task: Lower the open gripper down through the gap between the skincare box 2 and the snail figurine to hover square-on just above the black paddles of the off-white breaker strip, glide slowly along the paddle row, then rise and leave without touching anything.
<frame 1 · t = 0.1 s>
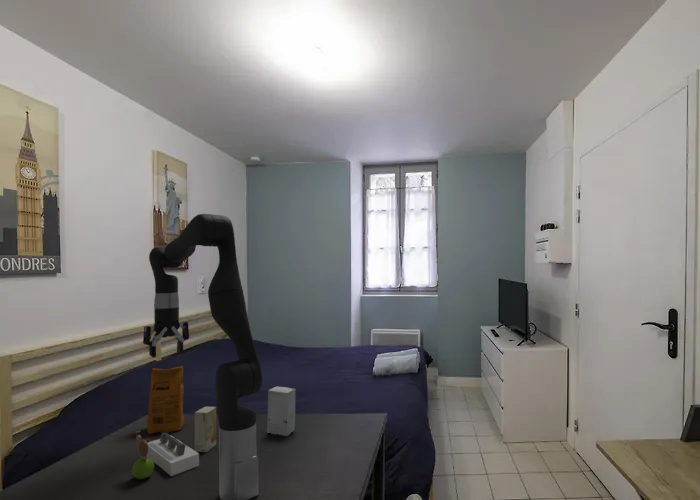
hand: (166, 355, 135), 29 cm above the table, tool pointing down, fingers open, 8 cm apart
breaker paddles: (172, 442, 122), point 5 cm above the table, hinge at 12.0°
coffee package: (166, 429, 147), on the table
skincare box: (281, 432, 141), on the table
snail figurine: (142, 478, 112), on the table
skincare box 2: (205, 448, 130), on the table
breaker strip: (171, 460, 122), on the table
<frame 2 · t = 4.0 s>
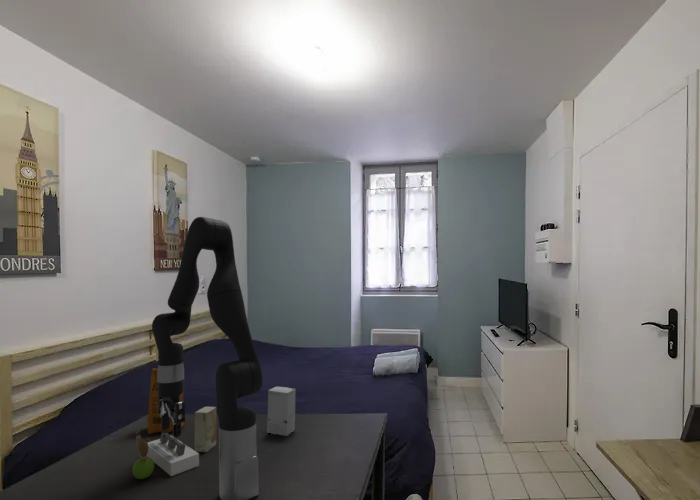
hand: (171, 432, 122), 8 cm above the table, tool pointing down, fingers open, 8 cm apart
nothing on the table moved.
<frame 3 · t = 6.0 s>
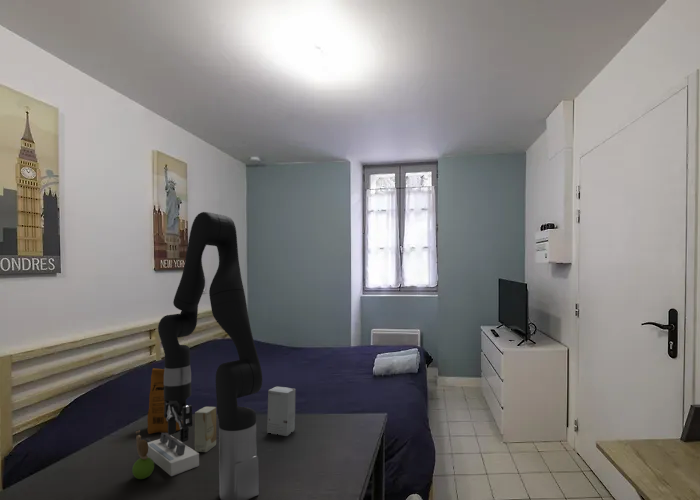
hand: (177, 437, 119), 8 cm above the table, tool pointing down, fingers open, 8 cm apart
nothing on the table moved.
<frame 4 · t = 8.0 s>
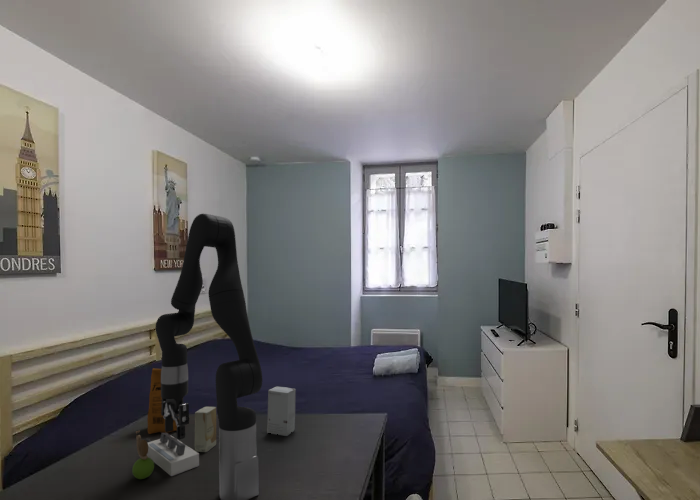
hand: (174, 434, 120), 8 cm above the table, tool pointing down, fingers open, 8 cm apart
nothing on the table moved.
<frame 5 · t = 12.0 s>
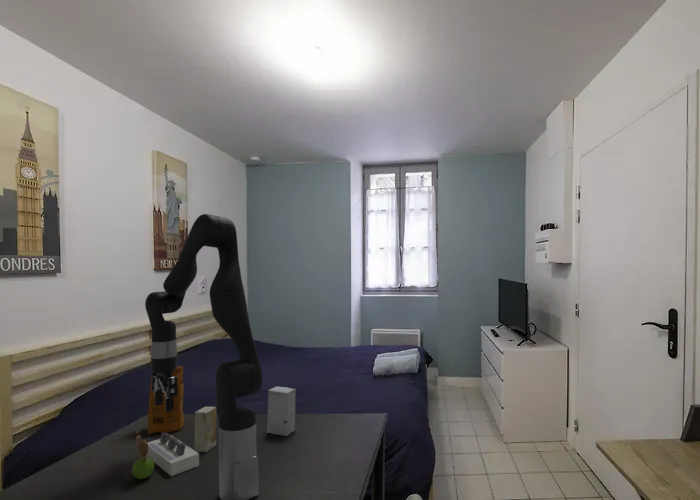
hand: (164, 407, 126), 15 cm above the table, tool pointing down, fingers open, 8 cm apart
nothing on the table moved.
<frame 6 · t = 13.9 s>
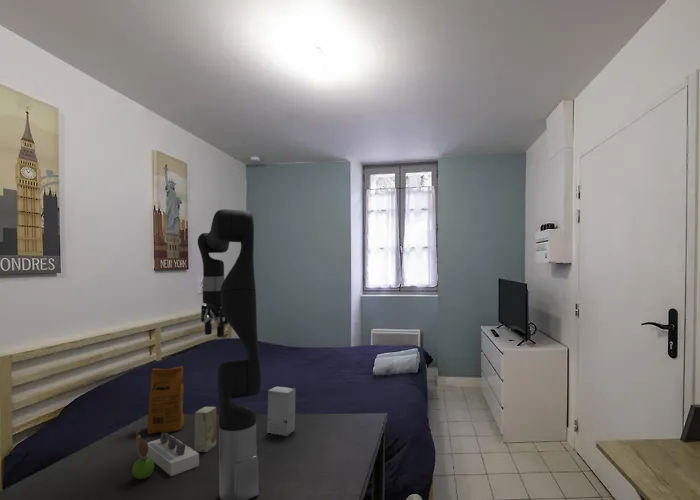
hand: (214, 335, 142), 34 cm above the table, tool pointing down, fingers open, 8 cm apart
nothing on the table moved.
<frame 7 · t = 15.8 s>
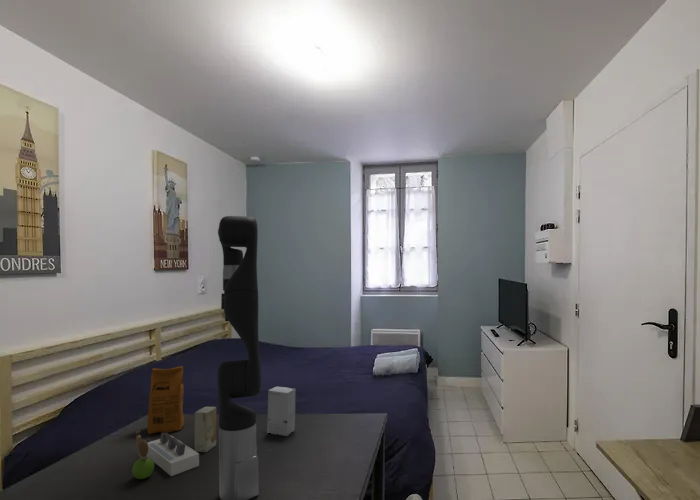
hand: (233, 321, 148), 38 cm above the table, tool pointing down, fingers open, 8 cm apart
nothing on the table moved.
at the end: breaker paddles at +12° (first picture: +12°); skincare box 2 moved 0.2 cm from its start; snail figurine moved 0.2 cm from its start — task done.
